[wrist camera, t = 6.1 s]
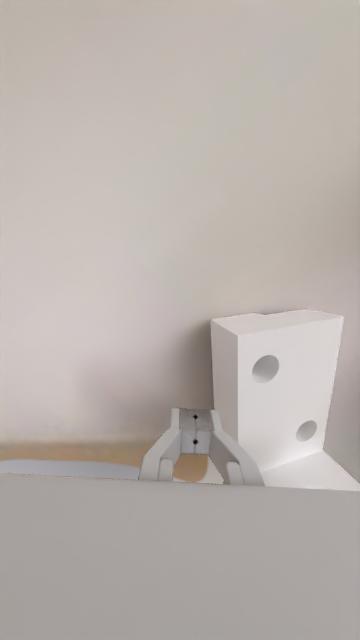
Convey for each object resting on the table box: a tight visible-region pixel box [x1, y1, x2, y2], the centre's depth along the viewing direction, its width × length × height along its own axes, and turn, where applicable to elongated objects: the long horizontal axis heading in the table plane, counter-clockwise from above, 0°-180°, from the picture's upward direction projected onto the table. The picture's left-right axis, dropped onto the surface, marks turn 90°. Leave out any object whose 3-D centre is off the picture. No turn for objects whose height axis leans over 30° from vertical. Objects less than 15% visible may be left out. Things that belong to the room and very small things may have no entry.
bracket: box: [210, 309, 360, 491], centre depth 11 cm, size 13×7×8 cm, turn 5°
